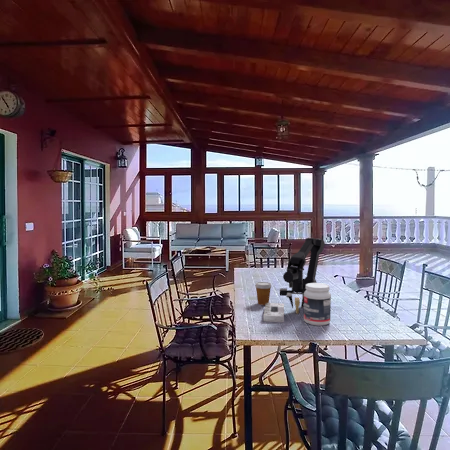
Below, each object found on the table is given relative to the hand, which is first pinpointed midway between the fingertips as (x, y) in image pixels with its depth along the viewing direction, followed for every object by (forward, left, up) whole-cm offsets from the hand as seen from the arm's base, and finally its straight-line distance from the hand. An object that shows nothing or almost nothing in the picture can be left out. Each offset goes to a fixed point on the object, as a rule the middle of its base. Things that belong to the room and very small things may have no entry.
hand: (297, 308), depth 192 cm
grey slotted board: (+12, +7, -2) cm, 14 cm away
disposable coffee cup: (+19, -14, -2) cm, 24 cm away
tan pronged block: (0, 0, -2) cm, 2 cm away
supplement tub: (-9, +16, -2) cm, 18 cm away
